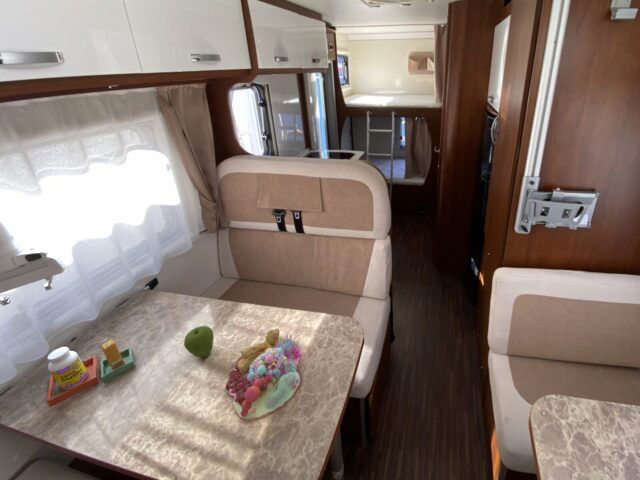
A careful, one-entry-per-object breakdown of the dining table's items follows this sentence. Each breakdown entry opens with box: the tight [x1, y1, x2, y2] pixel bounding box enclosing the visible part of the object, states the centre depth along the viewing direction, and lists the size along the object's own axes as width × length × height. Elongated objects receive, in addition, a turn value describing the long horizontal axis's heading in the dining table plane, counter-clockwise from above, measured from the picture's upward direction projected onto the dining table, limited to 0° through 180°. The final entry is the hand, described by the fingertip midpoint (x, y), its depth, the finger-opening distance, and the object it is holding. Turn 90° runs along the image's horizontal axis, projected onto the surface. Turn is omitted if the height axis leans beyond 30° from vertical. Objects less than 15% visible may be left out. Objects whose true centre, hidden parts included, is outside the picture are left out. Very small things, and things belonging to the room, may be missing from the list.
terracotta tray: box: [46, 355, 100, 408], centre depth 99 cm, size 11×11×3 cm
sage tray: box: [100, 346, 136, 383], centre depth 103 cm, size 8×8×3 cm
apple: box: [183, 325, 214, 359], centre depth 105 cm, size 9×8×12 cm
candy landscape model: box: [225, 327, 302, 421], centre depth 96 cm, size 25×24×9 cm
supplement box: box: [100, 339, 125, 370], centre depth 102 cm, size 3×3×10 cm
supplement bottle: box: [46, 346, 88, 390], centre depth 96 cm, size 7×7×13 cm
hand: (28, 296), depth 95 cm, fingers open, 8 cm apart
